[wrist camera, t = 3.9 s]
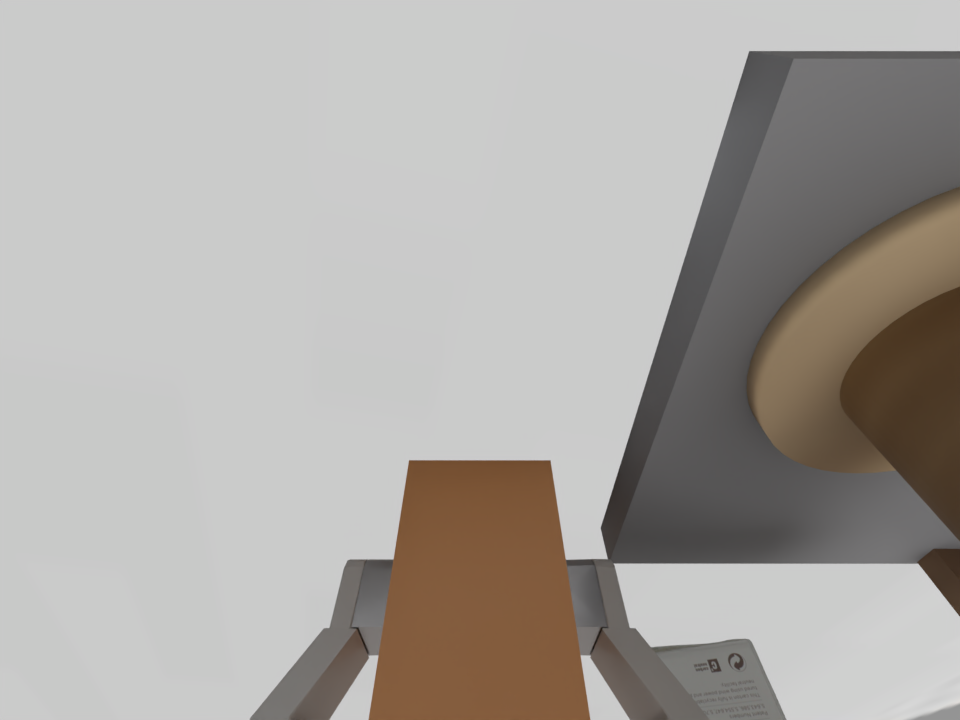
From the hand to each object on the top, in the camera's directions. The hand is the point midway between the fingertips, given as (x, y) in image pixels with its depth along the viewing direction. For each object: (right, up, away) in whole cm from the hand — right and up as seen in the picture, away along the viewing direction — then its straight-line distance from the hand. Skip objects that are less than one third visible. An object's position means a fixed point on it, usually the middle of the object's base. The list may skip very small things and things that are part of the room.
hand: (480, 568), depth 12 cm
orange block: (0, +1, +2) cm, 2 cm away
